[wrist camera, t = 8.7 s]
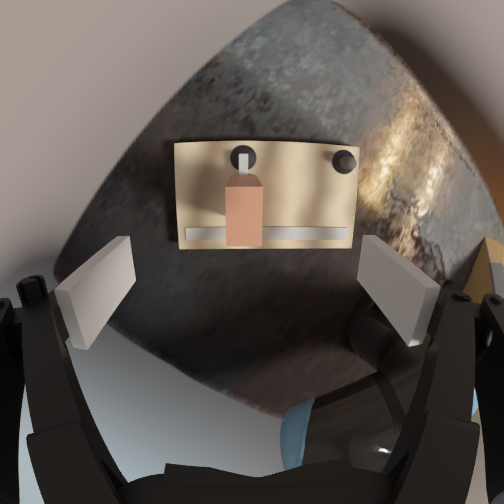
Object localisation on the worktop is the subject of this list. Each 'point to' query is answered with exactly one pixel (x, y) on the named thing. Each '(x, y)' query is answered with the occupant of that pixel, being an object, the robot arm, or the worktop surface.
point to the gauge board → (268, 192)
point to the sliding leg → (244, 207)
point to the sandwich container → (487, 272)
